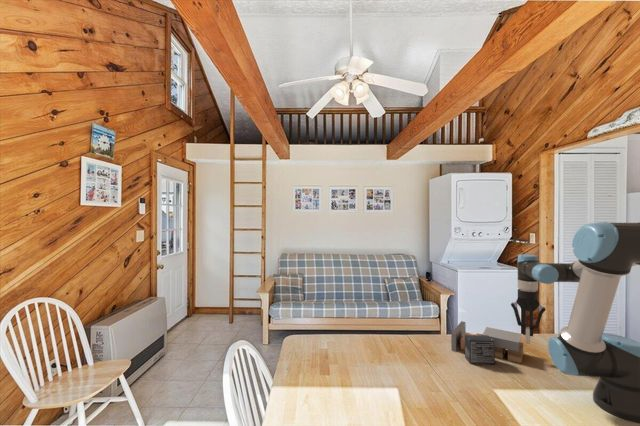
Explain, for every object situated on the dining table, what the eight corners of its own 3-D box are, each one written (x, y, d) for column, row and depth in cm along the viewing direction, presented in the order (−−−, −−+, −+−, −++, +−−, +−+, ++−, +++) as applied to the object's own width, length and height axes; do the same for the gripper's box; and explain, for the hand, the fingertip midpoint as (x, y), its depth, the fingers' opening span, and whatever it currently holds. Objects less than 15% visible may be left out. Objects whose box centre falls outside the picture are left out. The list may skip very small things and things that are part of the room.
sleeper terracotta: (469, 351, 144) (469, 341, 144) (460, 348, 146) (460, 339, 146) (474, 343, 152) (474, 334, 152) (466, 341, 155) (466, 332, 155)
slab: (518, 351, 132) (518, 342, 132) (482, 343, 140) (482, 334, 140) (520, 342, 141) (520, 333, 141) (486, 335, 150) (486, 326, 150)
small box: (488, 358, 137) (488, 334, 137) (495, 365, 130) (495, 340, 130) (464, 357, 138) (464, 333, 138) (469, 364, 131) (469, 339, 131)
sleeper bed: (521, 363, 131) (521, 351, 131) (472, 351, 143) (472, 340, 143) (523, 353, 140) (523, 343, 140) (477, 343, 152) (477, 333, 152)
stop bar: (455, 351, 143) (455, 334, 143) (451, 350, 145) (451, 333, 145) (465, 337, 159) (465, 322, 159) (461, 336, 160) (461, 321, 160)
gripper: (546, 290, 133) (546, 343, 134) (511, 285, 141) (511, 336, 142) (545, 293, 127) (546, 349, 128) (509, 289, 136) (509, 341, 136)
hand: (528, 342), depth 135 cm, fingers closed
